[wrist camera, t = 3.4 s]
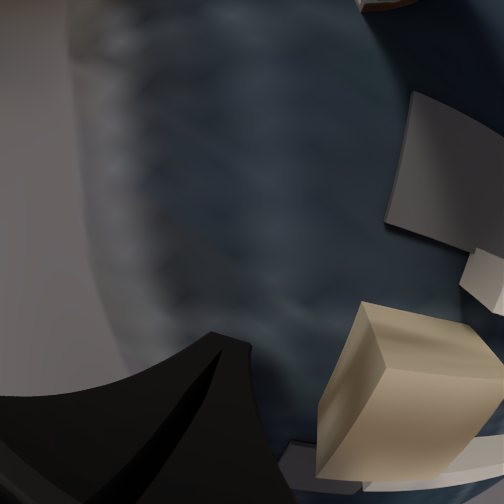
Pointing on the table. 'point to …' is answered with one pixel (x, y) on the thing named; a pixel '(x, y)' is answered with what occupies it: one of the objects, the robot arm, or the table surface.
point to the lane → (480, 448)
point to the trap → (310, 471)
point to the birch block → (404, 397)
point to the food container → (381, 4)
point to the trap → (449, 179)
